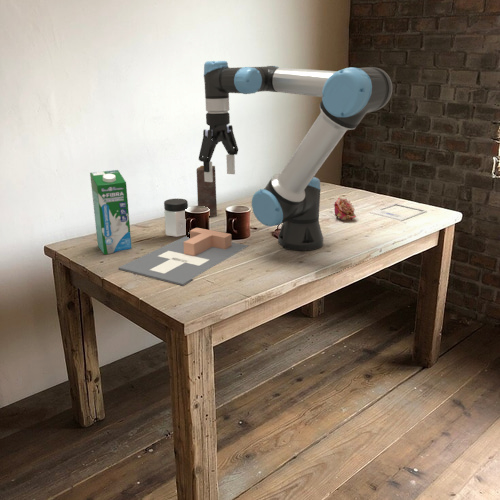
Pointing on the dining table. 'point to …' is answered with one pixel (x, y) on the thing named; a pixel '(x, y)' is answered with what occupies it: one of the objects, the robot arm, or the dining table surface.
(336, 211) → the flower
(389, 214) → the photo frame
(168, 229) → the jar
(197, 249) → the t block
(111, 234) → the milk carton
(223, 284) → the dining table surface
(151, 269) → the mat
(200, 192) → the candle
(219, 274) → the dining table surface
